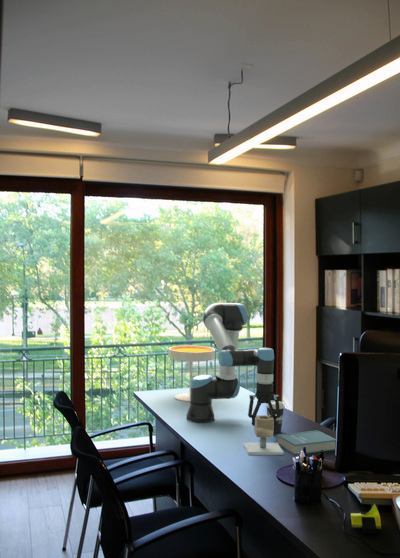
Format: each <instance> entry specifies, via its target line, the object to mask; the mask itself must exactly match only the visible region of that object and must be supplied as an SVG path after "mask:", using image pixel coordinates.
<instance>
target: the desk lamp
mask: <svg viewBox="0 0 400 558" xmlns="http://www.w3.org/2000/svg"><path fill="white" fill-rule="evenodd" d="M167 353H168V355H167V358H169V359H170V360H176V361H183V362H190V365H189V368H190V369H189V393H188V392H187V393H179V394H176V395H175V396H174V399H175V400H177V401H179V402H185V403H186V402H187V403H190V394H191V387H190V386H191V379H192V378H193V362H207V361H213V360H214V359H215V357H216V349H215V348H214V347H210V346H205V345H174V346H170V347H168V352H167Z"/></svg>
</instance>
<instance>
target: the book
mask: <svg viewBox="0 0 400 558" xmlns="http://www.w3.org/2000/svg"><path fill="white" fill-rule="evenodd" d="M275 441H276V442H275V443H278V444H279V446H280V448H283V449H284V450H285V451H288V452H289V453H290V454H293V455H294V454H295V456H296V454H297V453H298V452H299V451H301V450H303V447H306V452H307V453H306V454H312V453H313V454H314V453H319V452H320V451H321V450H323V451H321V452H327V451H336V450H335V441H336V438H334V437H332V436H331V435H328V434H326V433H325V432H322V431H320V430H310V431H309V430H308V431H299V432H290V433H282V434H281V433H280V434H276V440H275ZM336 442H337V441H336ZM297 455H298V454H297Z"/></svg>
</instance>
